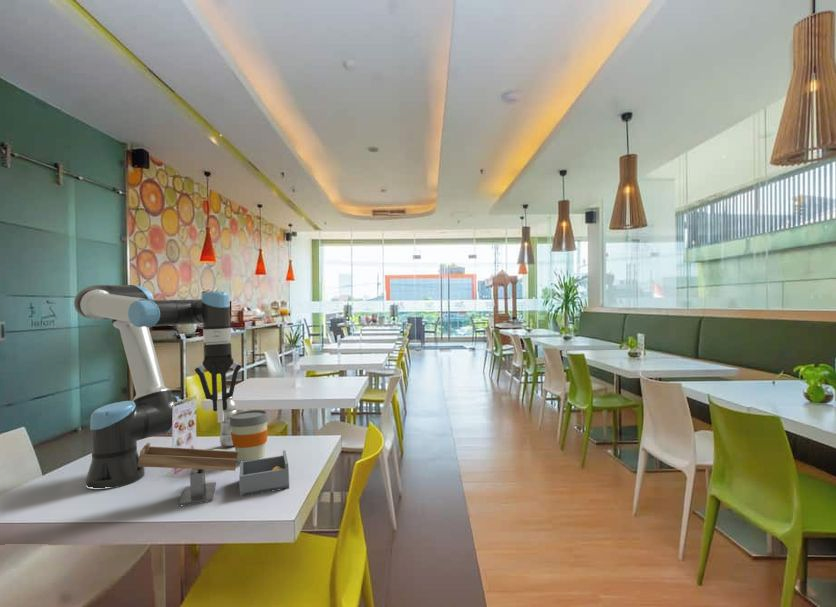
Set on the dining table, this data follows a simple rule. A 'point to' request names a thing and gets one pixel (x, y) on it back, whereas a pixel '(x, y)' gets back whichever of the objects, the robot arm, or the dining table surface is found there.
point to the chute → (187, 458)
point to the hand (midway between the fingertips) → (220, 421)
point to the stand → (198, 489)
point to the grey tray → (263, 475)
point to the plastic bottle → (227, 423)
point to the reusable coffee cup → (249, 434)
